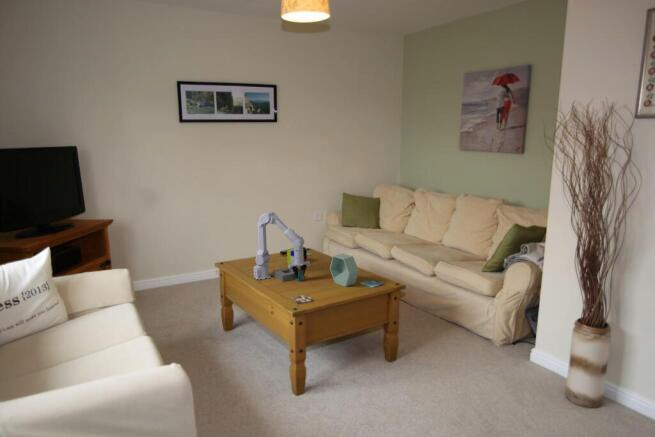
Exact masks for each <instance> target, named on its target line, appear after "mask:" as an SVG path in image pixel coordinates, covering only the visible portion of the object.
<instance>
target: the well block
mask: <svg viewBox="0 0 655 437" xmlns="http://www.w3.org/2000/svg"><path fill="white" fill-rule="evenodd" d="M272 276H274V278H275V279H276V280H278V279H279V281H280V280H281V282H282V283H284V282H289V280H290V281H293V280H295V281H296V277H295V274H294V272H293V270H292V268H288V267H285V268H280V269H275V270H272Z"/></svg>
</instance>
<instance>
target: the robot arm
mask: <svg viewBox="0 0 655 437" xmlns="http://www.w3.org/2000/svg"><path fill="white" fill-rule="evenodd" d="M256 224H257V252H256V257H255V263H256V265H254V266H253V278H254V277H255V278H254V279H256V280H257V279H262V280H265V278H267V279H271V278H272V276H271V275H270V270H269V267H270V266H269V262H270V260H271V256H270V254H269V251H268V249H267V247H268V246H267V225H268V224H271V225H276V226H277V227H278V228H279V229H280V230H281V231H282V232H283V233H284V236H285V237H286V238H287V239H288V240H289V241H290V242H291V244H292V246H293V249H294V260H295V263H292V264H287V265H288V266H287V268H292V270H293V272H294V274H295V277H296V278H298V269H299V267H300V269H301V270H303V278H304V277H305V273H306V270H307V268H308V265H311V262H310V261H309V260H307V261H304V260H303V249H304V244H305V240H304V237H302V236H300V235H298V234H297V233H296V232H295V230H294V229H292V228H289V227H288V226H287V225H286V223H284V222H283V220H281V219H280V217H279V215H278V214H276V212H275V211H273V210H270V211H268V212H265V213H263V214H261V215H260V216H259V219H258V221H257V222H256Z"/></svg>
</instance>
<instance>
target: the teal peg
mask: <svg viewBox="0 0 655 437" xmlns="http://www.w3.org/2000/svg"><path fill="white" fill-rule="evenodd" d="M300 281H301V282H304V277H303V270H301V268H298V278H296V279H295V282H298V283H300Z"/></svg>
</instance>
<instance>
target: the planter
mask: <svg viewBox="0 0 655 437" xmlns="http://www.w3.org/2000/svg"><path fill="white" fill-rule="evenodd" d="M329 270H330V273H331V276H332V279H333V282H334V283H335V284H337V285H340V286H342V287H345V288H347V287H350V286H353V285H355V284H356V281H357V280H358V276H359V273H360V270H359V267H358V265H357V263H356V260H355V258H354V256H352V255H349V254H345V253H339V254H334V255H332V258H331V263H330V266H329Z"/></svg>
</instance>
